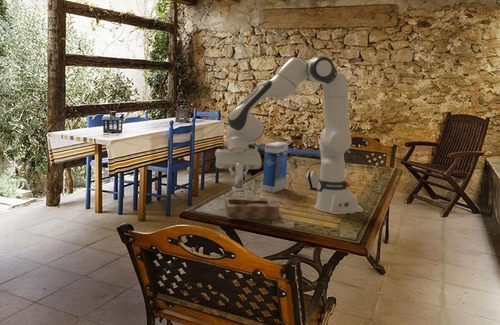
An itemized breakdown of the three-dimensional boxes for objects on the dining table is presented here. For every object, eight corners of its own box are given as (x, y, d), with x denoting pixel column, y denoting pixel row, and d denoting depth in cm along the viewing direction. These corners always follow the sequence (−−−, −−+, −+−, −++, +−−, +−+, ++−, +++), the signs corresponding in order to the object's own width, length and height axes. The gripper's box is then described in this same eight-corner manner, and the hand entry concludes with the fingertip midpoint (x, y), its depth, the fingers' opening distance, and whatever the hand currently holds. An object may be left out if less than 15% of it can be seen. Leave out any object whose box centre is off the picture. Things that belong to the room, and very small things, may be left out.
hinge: (317, 190, 239) (312, 173, 239) (309, 191, 241) (304, 174, 241) (322, 184, 255) (318, 168, 254) (315, 185, 257) (310, 169, 256)
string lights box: (274, 186, 244) (277, 141, 239) (286, 188, 239) (289, 143, 235) (262, 190, 233) (264, 143, 228) (274, 193, 229) (276, 145, 224)
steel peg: (244, 188, 190) (245, 162, 188) (245, 191, 185) (246, 164, 182) (231, 188, 189) (232, 161, 187) (232, 191, 184) (233, 164, 182)
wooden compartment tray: (227, 219, 181) (227, 206, 180) (225, 209, 195) (225, 197, 194) (278, 219, 184) (279, 206, 183) (272, 209, 198) (273, 198, 197)
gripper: (215, 145, 189) (215, 171, 181) (260, 146, 192) (263, 172, 184) (214, 153, 194) (214, 179, 186) (258, 154, 197) (261, 179, 189)
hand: (239, 175), depth 185 cm, fingers closed on steel peg, 4 cm apart
